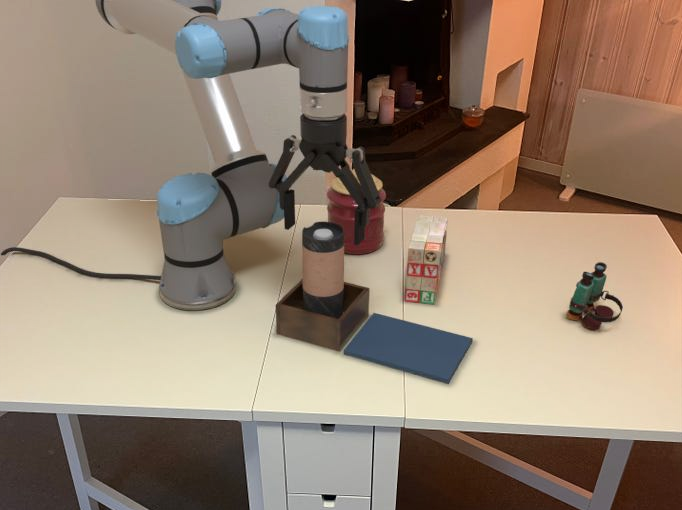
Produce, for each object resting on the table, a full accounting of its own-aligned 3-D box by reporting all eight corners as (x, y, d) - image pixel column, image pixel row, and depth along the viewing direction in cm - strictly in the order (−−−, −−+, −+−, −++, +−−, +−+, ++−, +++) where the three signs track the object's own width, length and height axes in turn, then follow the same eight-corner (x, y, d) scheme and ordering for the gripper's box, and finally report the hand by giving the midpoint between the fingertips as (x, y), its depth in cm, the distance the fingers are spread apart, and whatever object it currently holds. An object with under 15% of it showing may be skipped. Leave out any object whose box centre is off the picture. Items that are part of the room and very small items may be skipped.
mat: (343, 354, 137) (343, 349, 137) (373, 316, 148) (373, 312, 147) (448, 384, 130) (449, 379, 130) (472, 342, 141) (472, 338, 140)
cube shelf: (276, 334, 142) (275, 304, 138) (308, 300, 152) (307, 272, 148) (339, 351, 138) (340, 322, 134) (368, 316, 148) (369, 287, 144)
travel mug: (343, 336, 142) (344, 240, 130) (302, 336, 142) (300, 240, 130) (343, 314, 148) (344, 221, 136) (304, 314, 148) (302, 220, 136)
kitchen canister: (390, 252, 169) (394, 177, 158) (334, 258, 166) (334, 182, 156) (374, 227, 179) (377, 155, 169) (321, 232, 177) (321, 159, 166)
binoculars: (619, 295, 136) (571, 271, 141) (601, 341, 143) (556, 316, 148) (643, 278, 141) (596, 255, 146) (624, 323, 148) (580, 299, 153)
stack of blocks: (416, 252, 169) (421, 201, 162) (444, 255, 168) (450, 204, 161) (404, 301, 152) (408, 247, 145) (435, 305, 151) (440, 250, 144)
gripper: (244, 109, 122) (252, 228, 135) (386, 132, 114) (381, 257, 126) (267, 96, 128) (272, 212, 140) (404, 118, 119) (397, 239, 132)
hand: (324, 234), depth 133 cm, fingers open, 13 cm apart
